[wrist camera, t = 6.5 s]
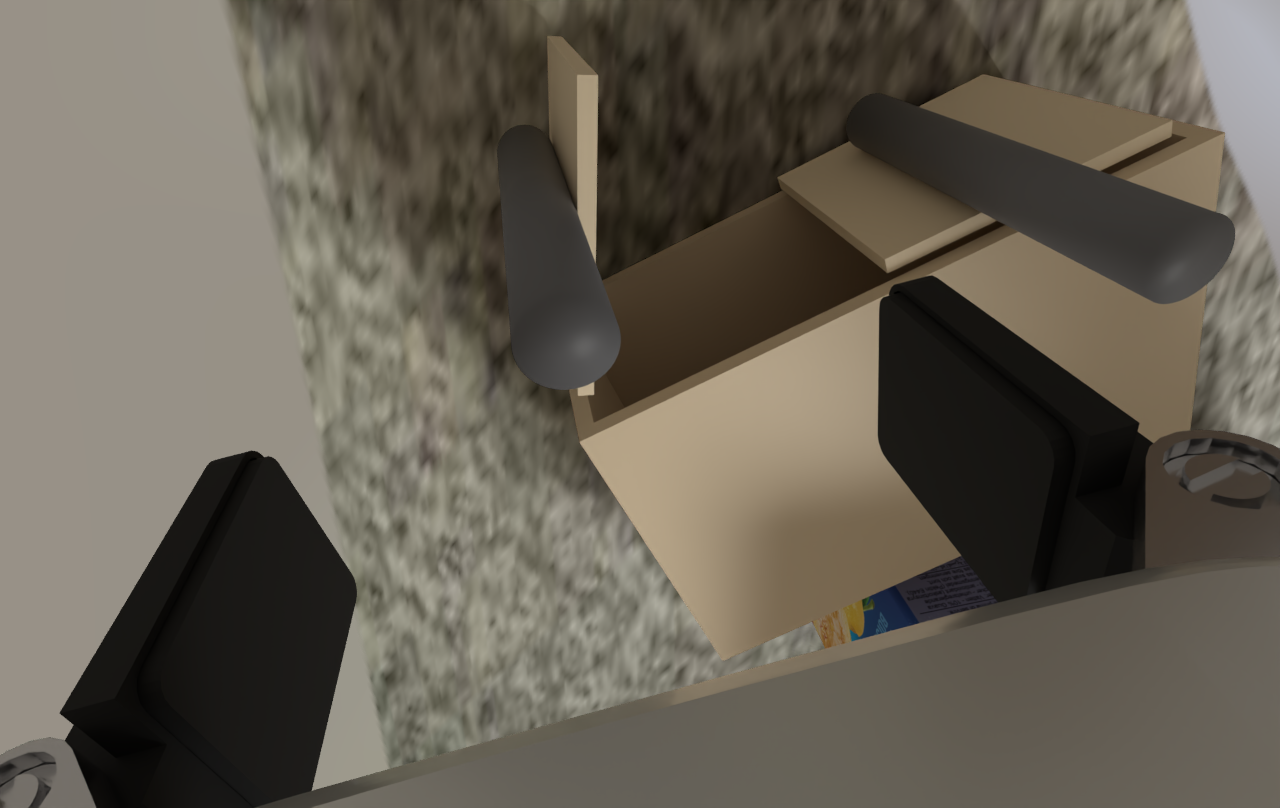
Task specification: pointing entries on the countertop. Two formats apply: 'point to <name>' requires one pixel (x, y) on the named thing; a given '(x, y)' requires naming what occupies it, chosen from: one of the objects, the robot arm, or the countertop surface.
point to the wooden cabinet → (839, 393)
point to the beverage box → (907, 604)
